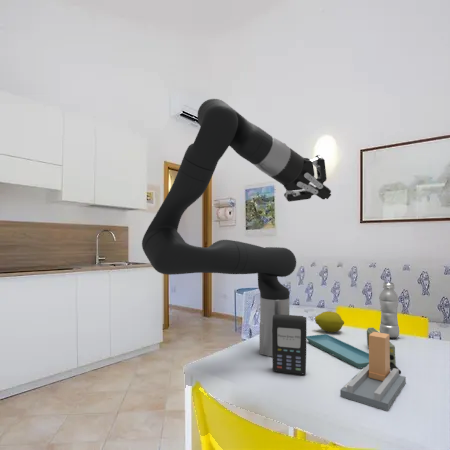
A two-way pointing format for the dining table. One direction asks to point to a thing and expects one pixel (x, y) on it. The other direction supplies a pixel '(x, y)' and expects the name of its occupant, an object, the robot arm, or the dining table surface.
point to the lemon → (329, 321)
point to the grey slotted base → (374, 389)
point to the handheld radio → (392, 349)
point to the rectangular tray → (340, 350)
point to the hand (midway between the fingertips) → (328, 195)
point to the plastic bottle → (389, 311)
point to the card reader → (289, 344)
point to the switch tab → (379, 355)
